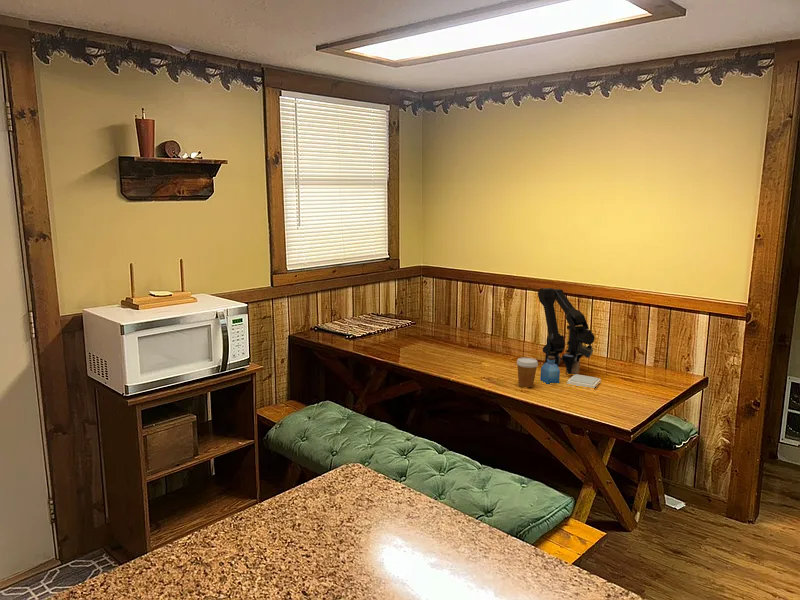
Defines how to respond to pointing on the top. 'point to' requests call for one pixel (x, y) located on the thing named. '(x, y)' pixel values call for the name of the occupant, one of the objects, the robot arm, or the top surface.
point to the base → (584, 381)
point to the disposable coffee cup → (526, 371)
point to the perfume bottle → (550, 371)
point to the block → (575, 368)
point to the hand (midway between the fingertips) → (572, 371)
